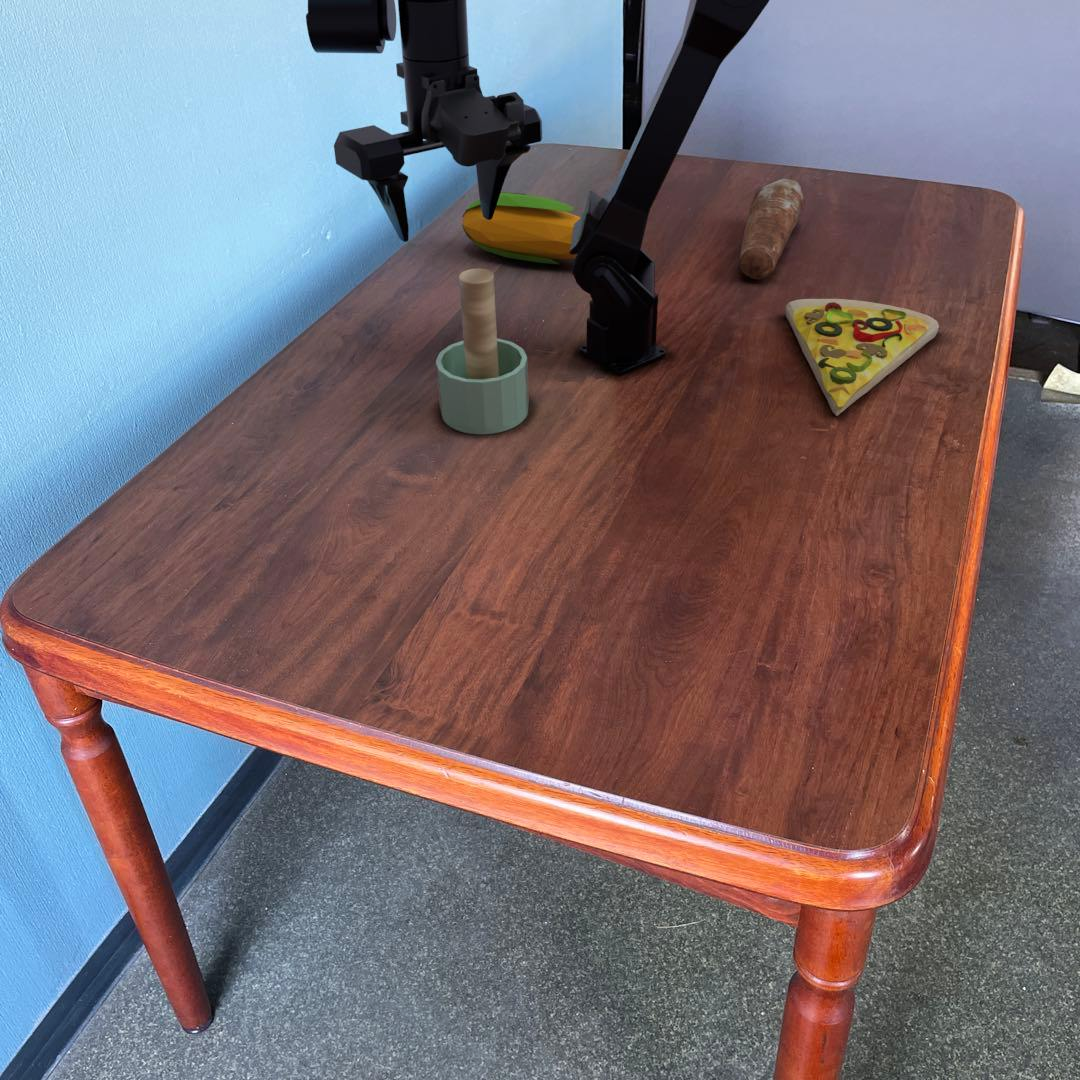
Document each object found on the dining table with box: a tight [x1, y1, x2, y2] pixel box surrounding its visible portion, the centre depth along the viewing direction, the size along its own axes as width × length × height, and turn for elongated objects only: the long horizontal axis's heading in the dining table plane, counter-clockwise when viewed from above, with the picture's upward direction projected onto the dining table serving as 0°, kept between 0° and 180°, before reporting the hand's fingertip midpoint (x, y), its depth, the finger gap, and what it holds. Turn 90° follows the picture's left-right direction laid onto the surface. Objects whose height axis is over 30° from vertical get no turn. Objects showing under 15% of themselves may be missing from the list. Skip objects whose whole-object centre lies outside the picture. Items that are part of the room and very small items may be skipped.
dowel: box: [458, 268, 499, 380], centre depth 97 cm, size 3×3×13 cm
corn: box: [461, 191, 581, 265], centre depth 125 cm, size 7×8×20 cm
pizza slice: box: [785, 298, 940, 417], centre depth 105 cm, size 16×21×3 cm
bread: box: [738, 177, 806, 280], centre depth 126 cm, size 6×19×6 cm, turn 160°
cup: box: [435, 337, 530, 435], centre depth 99 cm, size 8×8×6 cm
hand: (446, 229), depth 102 cm, fingers open, 9 cm apart
